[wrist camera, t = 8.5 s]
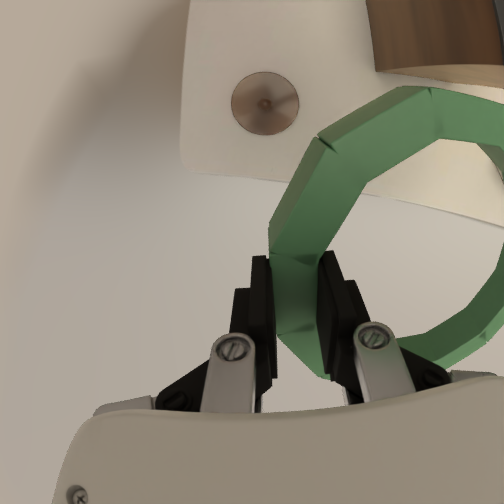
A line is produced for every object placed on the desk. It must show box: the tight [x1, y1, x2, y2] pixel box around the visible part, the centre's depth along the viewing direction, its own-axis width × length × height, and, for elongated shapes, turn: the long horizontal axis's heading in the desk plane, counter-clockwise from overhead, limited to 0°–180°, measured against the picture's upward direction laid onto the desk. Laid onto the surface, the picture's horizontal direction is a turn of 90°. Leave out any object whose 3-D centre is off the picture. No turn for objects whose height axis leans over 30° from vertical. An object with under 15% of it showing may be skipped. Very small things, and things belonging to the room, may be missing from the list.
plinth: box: [366, 0, 504, 89], centre depth 16 cm, size 14×14×26 cm
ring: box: [268, 86, 504, 380], centre depth 12 cm, size 16×16×2 cm
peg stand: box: [231, 72, 299, 135], centre depth 33 cm, size 9×9×6 cm
